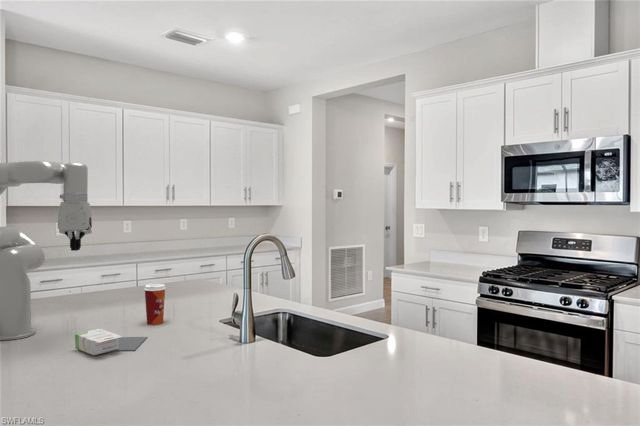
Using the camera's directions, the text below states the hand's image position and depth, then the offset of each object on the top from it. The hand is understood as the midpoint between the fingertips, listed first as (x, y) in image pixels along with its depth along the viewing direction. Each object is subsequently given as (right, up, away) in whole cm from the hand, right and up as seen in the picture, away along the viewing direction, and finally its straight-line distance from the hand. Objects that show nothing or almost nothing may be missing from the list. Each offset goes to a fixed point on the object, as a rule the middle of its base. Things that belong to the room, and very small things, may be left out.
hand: (75, 250), depth 163 cm
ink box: (+9, -29, -10) cm, 31 cm away
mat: (+19, -31, -7) cm, 37 cm away
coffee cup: (+21, -31, +20) cm, 42 cm away
